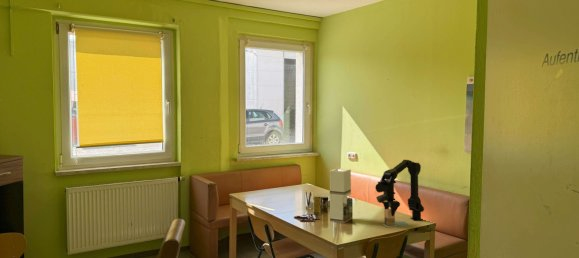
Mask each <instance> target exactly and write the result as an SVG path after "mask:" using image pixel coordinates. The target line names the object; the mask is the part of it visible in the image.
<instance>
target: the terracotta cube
mask: <svg viewBox="0 0 579 258" xmlns="http://www.w3.org/2000/svg"><path fill="white" fill-rule="evenodd" d="M383 211H384V213H383V214H384V217H386V218H387V219H389V218H395V219H396V213H395V214H394V216H392V214H391V208H389V209H385V208H384V210H383Z"/></svg>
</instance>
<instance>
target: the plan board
mask: <svg viewBox="0 0 579 258" xmlns="http://www.w3.org/2000/svg"><path fill="white" fill-rule="evenodd" d="M379 224H380V225H382V226H383V227H385V228H386V229H389V228H402V227H405V228H406V227H411V226H412V225H411V224H409V223H407V222H406V221H395V226H386V225H385V224H384V222H380V223H379Z"/></svg>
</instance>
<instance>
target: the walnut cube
mask: <svg viewBox="0 0 579 258" xmlns="http://www.w3.org/2000/svg"><path fill="white" fill-rule="evenodd" d="M383 221H384V222H383V223H384V224H385V225H386V226H395V222H396V217H395V218H389V219H387V218H386V217H384V220H383Z"/></svg>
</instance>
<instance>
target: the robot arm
mask: <svg viewBox="0 0 579 258" xmlns="http://www.w3.org/2000/svg"><path fill="white" fill-rule="evenodd" d="M421 168H422V165H421V164H420V162H414V161H412V160H410V159H402V161H400V163H398V164H397V165H395V166H393V167H392V168H390V169H387V170H385V171H384V172H383V174H382V176H381V177H380V181H377V184H376V185H375V187H374V189H375V191H376V192H377V193H378V194H379V193H382V194H381V195H378V196H376V201H377V203H379V204H381V203H382V205H383V208H384V209H391V214H392V216H394V214H395V215H396V212H397V210H398V208H399V207H400V206H401V202H400V201H398V200H396V198H395V195H396V192H395V184H396V183H397V181H396V180H395V179H397V178H398V175H399V174H400V173H401V172H402V171H404V170H405V169H407V172H408V174H409V175H410V177H409V179H410V196H409V198H408V199H407V206H408V210H409V211H411V217H410V218H409V219H411V220H412V221H424V220H423V218H422V213H423V212H424V211H425V207H424V206H423V205H422V201H421V198H420V196H419V175H420V172H421Z"/></svg>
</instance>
